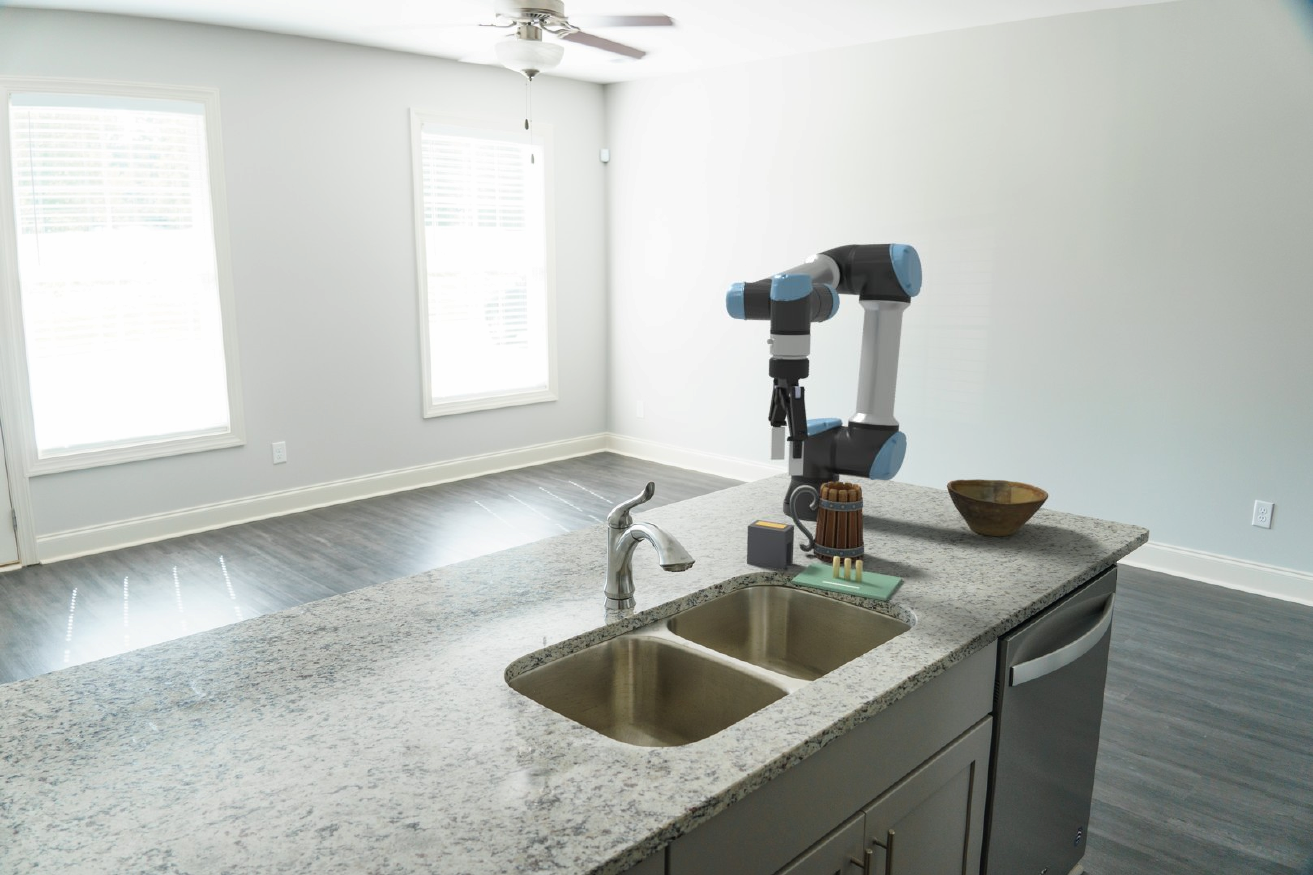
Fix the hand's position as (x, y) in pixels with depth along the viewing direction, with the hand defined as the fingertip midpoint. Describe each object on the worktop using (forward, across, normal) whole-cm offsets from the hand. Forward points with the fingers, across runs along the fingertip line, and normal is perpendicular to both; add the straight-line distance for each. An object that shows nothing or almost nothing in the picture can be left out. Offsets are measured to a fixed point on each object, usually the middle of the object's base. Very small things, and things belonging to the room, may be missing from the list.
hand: (785, 467), depth 171 cm
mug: (+22, -10, +12) cm, 26 cm away
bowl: (+22, -23, +55) cm, 64 cm away
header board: (+21, +7, +11) cm, 25 cm away
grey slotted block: (+21, -6, -1) cm, 22 cm away
